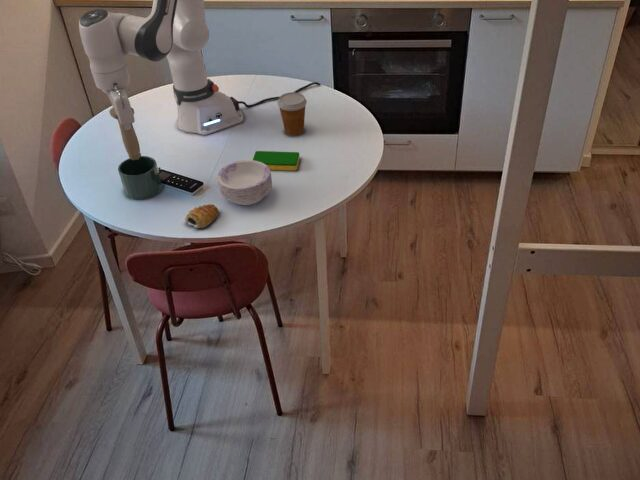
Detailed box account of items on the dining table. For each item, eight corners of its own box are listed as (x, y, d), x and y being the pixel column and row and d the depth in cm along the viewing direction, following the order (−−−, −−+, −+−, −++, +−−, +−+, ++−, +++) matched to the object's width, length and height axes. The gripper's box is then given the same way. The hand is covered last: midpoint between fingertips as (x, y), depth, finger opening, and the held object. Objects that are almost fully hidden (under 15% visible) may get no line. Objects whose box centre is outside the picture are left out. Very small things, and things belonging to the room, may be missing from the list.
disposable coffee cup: (275, 135, 204) (271, 102, 196) (288, 122, 211) (285, 89, 203) (301, 140, 202) (298, 107, 194) (313, 127, 208) (311, 94, 200)
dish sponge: (296, 171, 188) (296, 164, 187) (252, 169, 189) (251, 162, 188) (299, 158, 194) (299, 151, 192) (256, 157, 194) (255, 150, 193)
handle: (140, 163, 173) (126, 116, 163) (121, 160, 174) (106, 112, 164) (149, 155, 176) (136, 107, 166) (130, 151, 178) (116, 104, 168)
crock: (157, 175, 187) (151, 152, 182) (166, 193, 180) (160, 170, 175) (121, 184, 184) (114, 161, 178) (129, 203, 177) (122, 180, 171)
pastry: (207, 206, 175) (205, 195, 172) (225, 214, 172) (223, 203, 170) (183, 223, 169) (181, 212, 167) (201, 232, 166) (198, 221, 164)
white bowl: (228, 180, 185) (224, 157, 180) (277, 182, 184) (275, 159, 178) (214, 210, 174) (210, 187, 168) (267, 213, 172) (264, 189, 167)
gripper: (132, 90, 153) (146, 138, 162) (116, 59, 166) (129, 106, 176) (106, 96, 151) (121, 144, 160) (92, 64, 164) (107, 111, 174)
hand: (125, 124), depth 168 cm, fingers closed on handle, 4 cm apart
